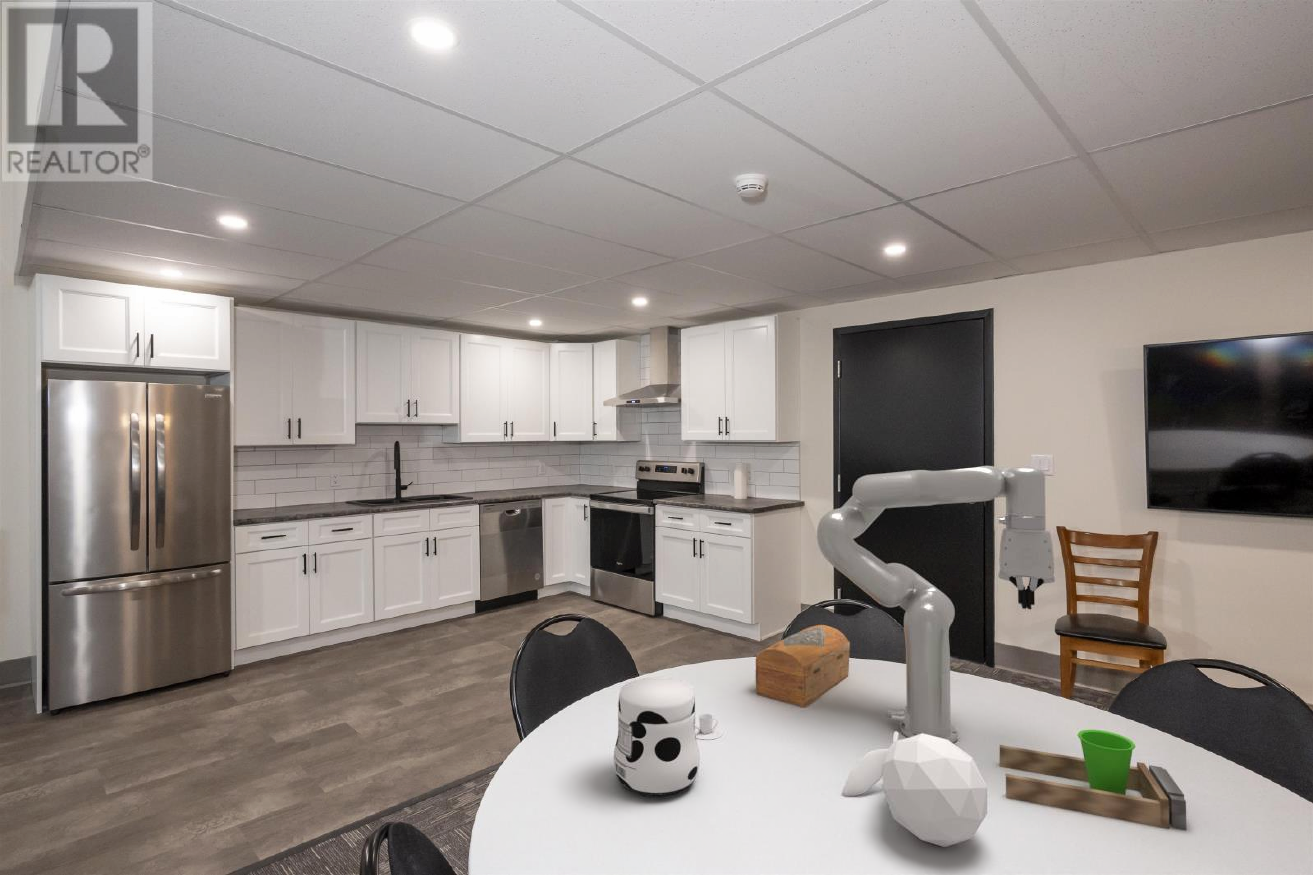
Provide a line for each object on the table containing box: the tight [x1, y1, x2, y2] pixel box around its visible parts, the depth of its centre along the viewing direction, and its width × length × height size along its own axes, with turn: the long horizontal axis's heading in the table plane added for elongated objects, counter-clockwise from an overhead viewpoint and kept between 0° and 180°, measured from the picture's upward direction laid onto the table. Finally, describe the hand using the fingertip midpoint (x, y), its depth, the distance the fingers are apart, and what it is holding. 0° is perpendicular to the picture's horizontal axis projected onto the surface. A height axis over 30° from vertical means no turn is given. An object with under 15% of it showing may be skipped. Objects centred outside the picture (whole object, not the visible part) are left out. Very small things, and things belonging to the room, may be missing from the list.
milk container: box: [613, 677, 701, 796], centre depth 130 cm, size 17×17×18 cm
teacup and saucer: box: [695, 713, 724, 741], centre depth 152 cm, size 9×8×4 cm
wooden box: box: [755, 624, 851, 708], centre depth 182 cm, size 30×16×14 cm, turn 141°
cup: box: [1077, 729, 1136, 795], centre depth 123 cm, size 9×9×11 cm
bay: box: [999, 744, 1187, 831], centre depth 124 cm, size 28×14×5 cm, turn 67°
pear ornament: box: [842, 731, 988, 848], centre depth 116 cm, size 16×22×28 cm
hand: (1026, 607), depth 140 cm, fingers closed
